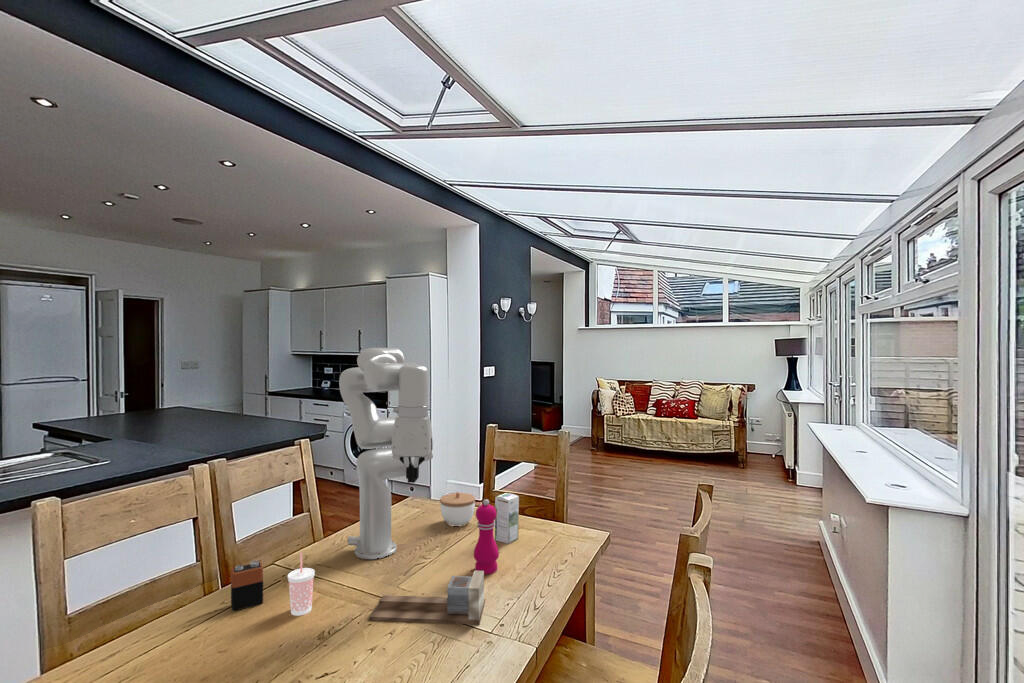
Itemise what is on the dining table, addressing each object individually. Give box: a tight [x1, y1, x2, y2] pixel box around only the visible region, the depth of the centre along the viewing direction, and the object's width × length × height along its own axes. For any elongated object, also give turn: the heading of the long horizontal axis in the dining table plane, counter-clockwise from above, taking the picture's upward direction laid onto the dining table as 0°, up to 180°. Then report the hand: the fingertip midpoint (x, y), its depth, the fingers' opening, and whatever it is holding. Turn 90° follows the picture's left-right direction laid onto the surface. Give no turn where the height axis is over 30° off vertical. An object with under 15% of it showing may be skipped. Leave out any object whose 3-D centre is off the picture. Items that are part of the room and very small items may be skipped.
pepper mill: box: [473, 499, 500, 575], centre depth 142 cm, size 7×7×20 cm
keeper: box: [446, 575, 473, 614], centre depth 120 cm, size 5×6×6 cm
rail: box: [368, 570, 486, 625], centre depth 120 cm, size 26×10×8 cm, turn 86°
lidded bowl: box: [439, 491, 476, 526], centre depth 179 cm, size 13×13×11 cm
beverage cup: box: [287, 551, 316, 617], centre depth 121 cm, size 6×6×14 cm
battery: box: [230, 560, 264, 611], centre depth 124 cm, size 4×7×10 cm, turn 123°
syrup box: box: [494, 492, 520, 544], centre depth 164 cm, size 6×6×14 cm
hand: (412, 481), depth 132 cm, fingers closed
